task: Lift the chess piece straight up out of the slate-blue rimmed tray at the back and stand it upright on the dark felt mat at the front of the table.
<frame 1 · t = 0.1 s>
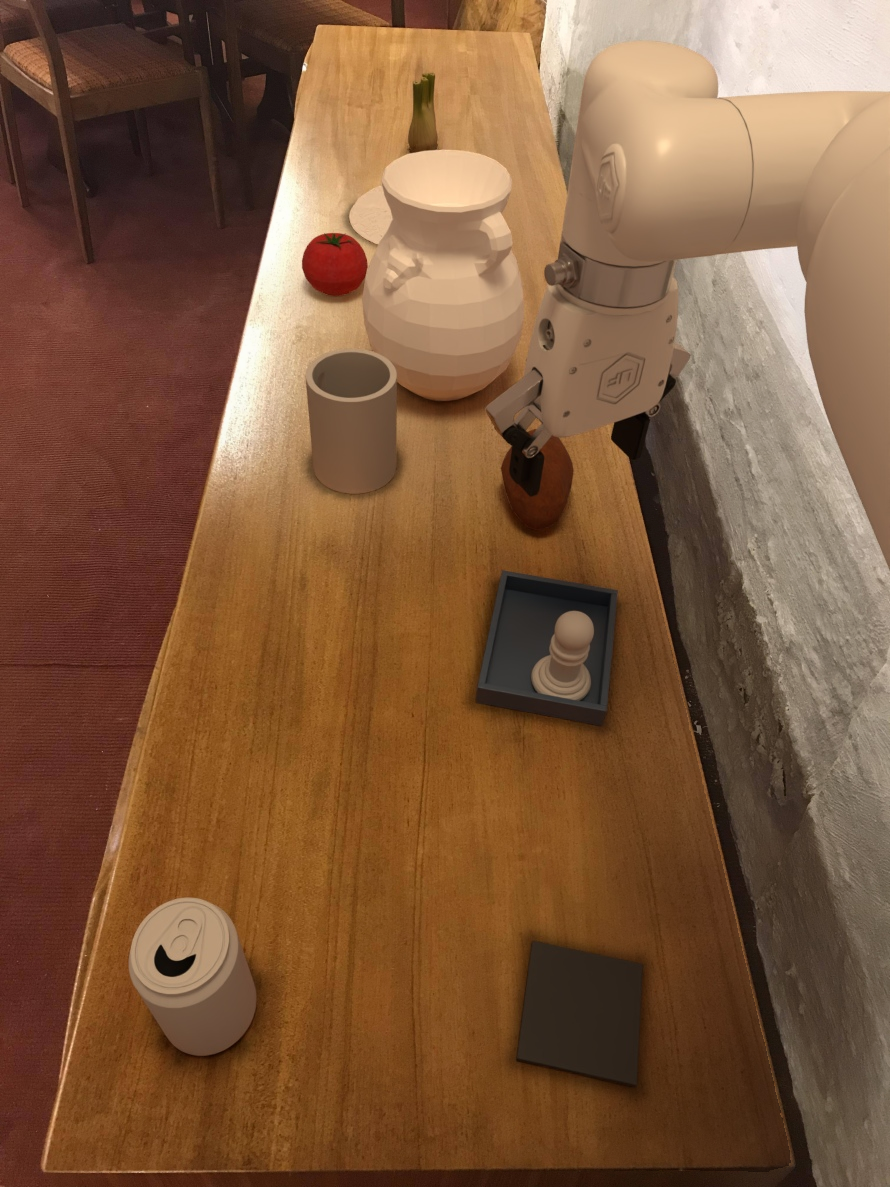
hand: (575, 466, 71), 19 cm above the sideboard, tool pointing down, fingers open, 9 cm apart
mat: (580, 1011, 62), on the sideboard
beverage can: (211, 1009, 62), on the sideboard
fennel bulb: (422, 152, 154), on the sideboard
cup: (355, 467, 100), on the sideboard
tomato: (336, 290, 124), on the sideboard
tray: (547, 651, 83), on the sideboard
chess piece: (560, 683, 81), resting on tray
potato: (532, 502, 97), on the sideboard
plaque: (414, 219, 138), on the sideboard
white vase: (440, 381, 111), on the sideboard
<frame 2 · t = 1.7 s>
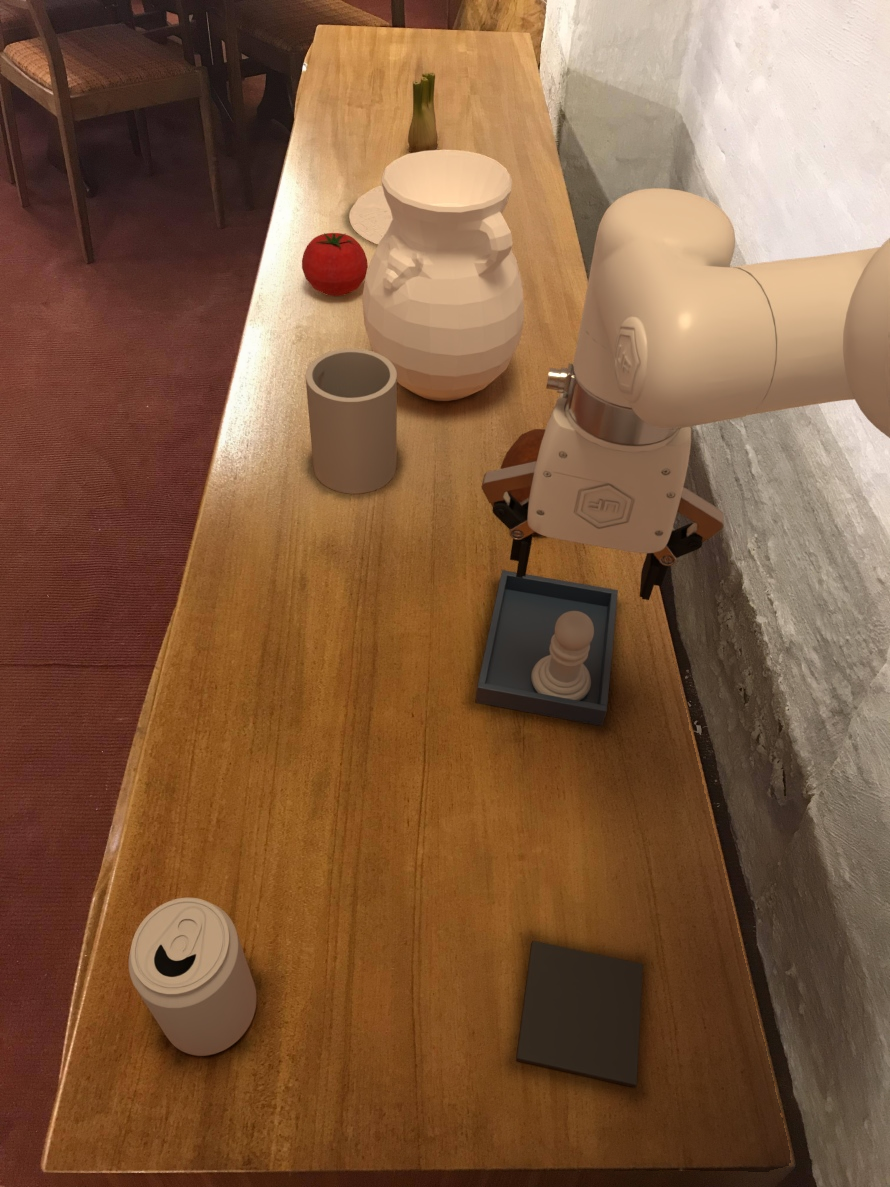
hand: (583, 575, 70), 14 cm above the sideboard, tool pointing down, fingers open, 9 cm apart
nothing on the sideboard moved.
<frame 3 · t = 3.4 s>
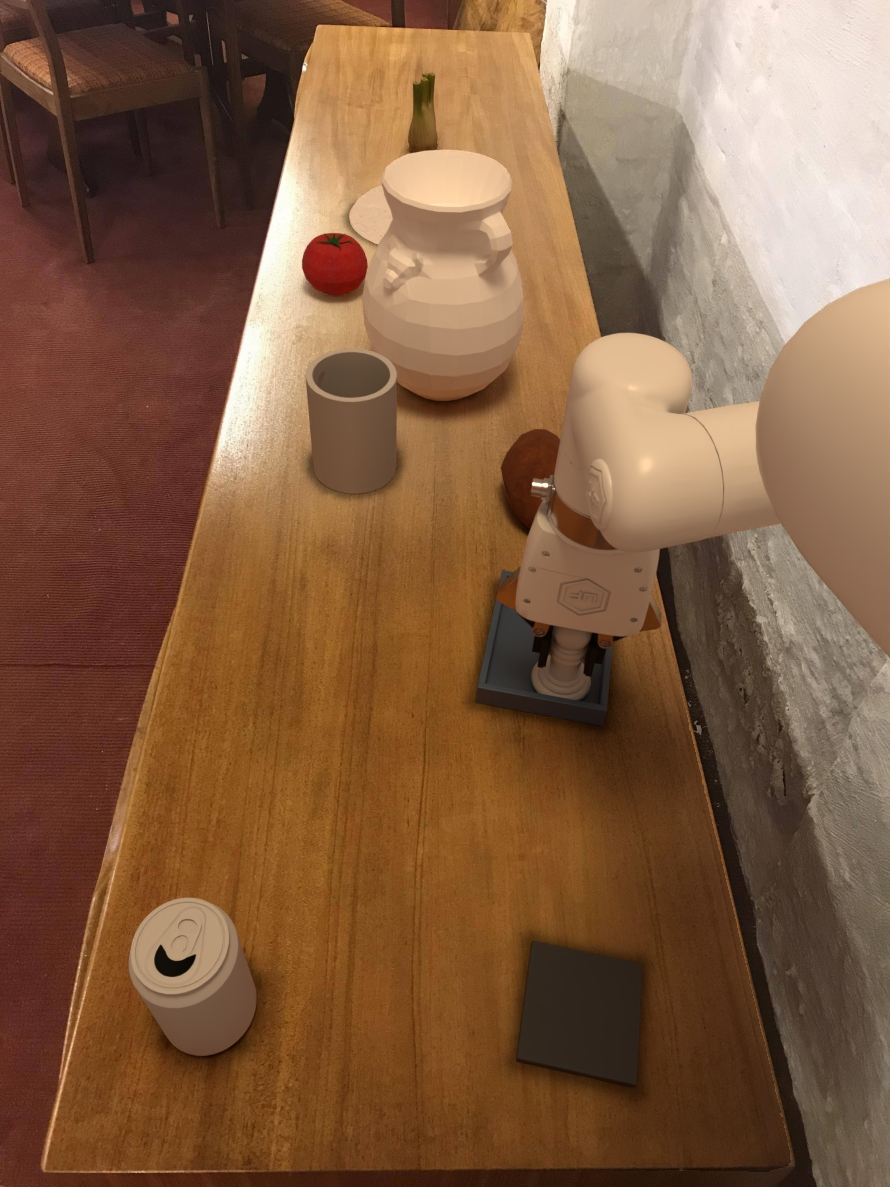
hand: (566, 657, 78), 4 cm above the sideboard, tool pointing down, fingers closed on chess piece, 3 cm apart
chess piece: (560, 683, 81), resting on tray, touching gripper
everything else where it was.
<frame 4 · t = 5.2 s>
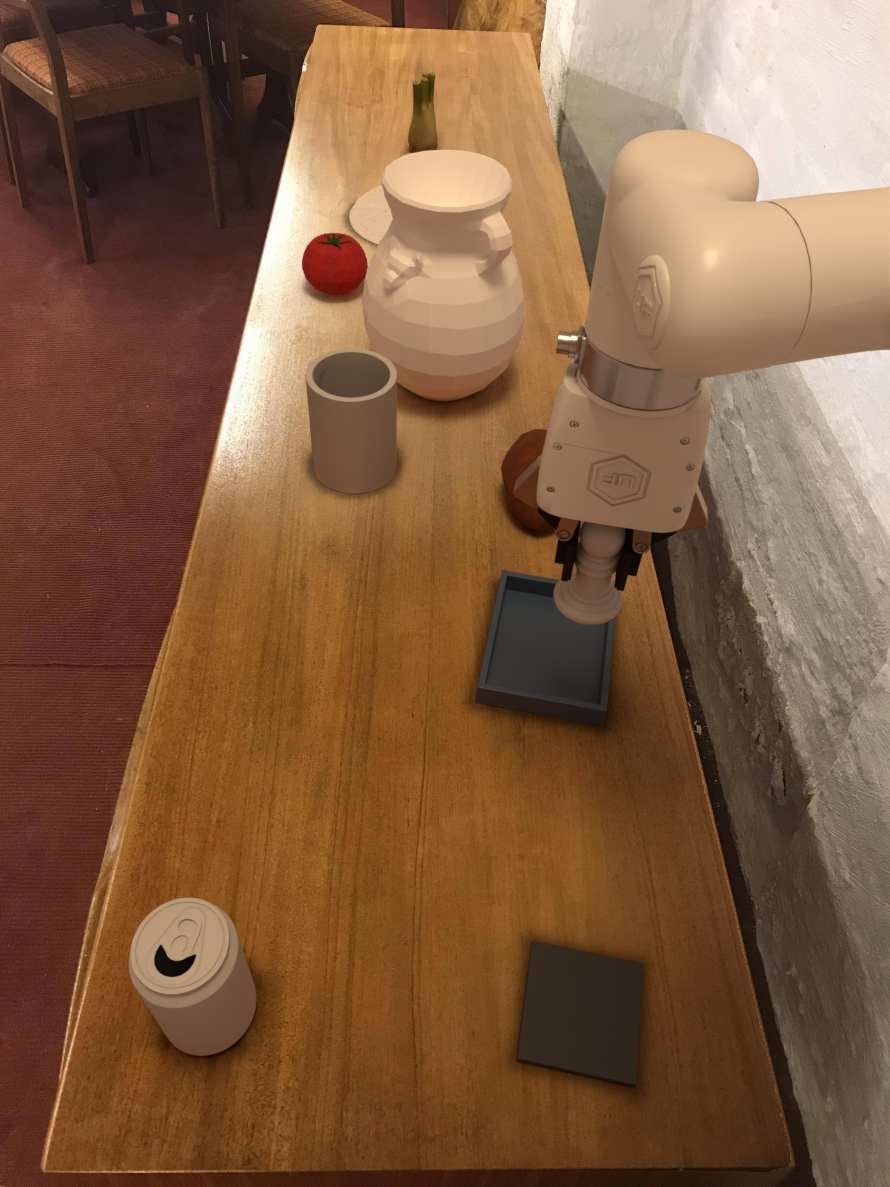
hand: (593, 571, 67), 17 cm above the sideboard, tool pointing down, fingers closed on chess piece, 3 cm apart
chess piece: (586, 602, 70), point 13 cm above the sideboard, touching gripper
everything else where it was.
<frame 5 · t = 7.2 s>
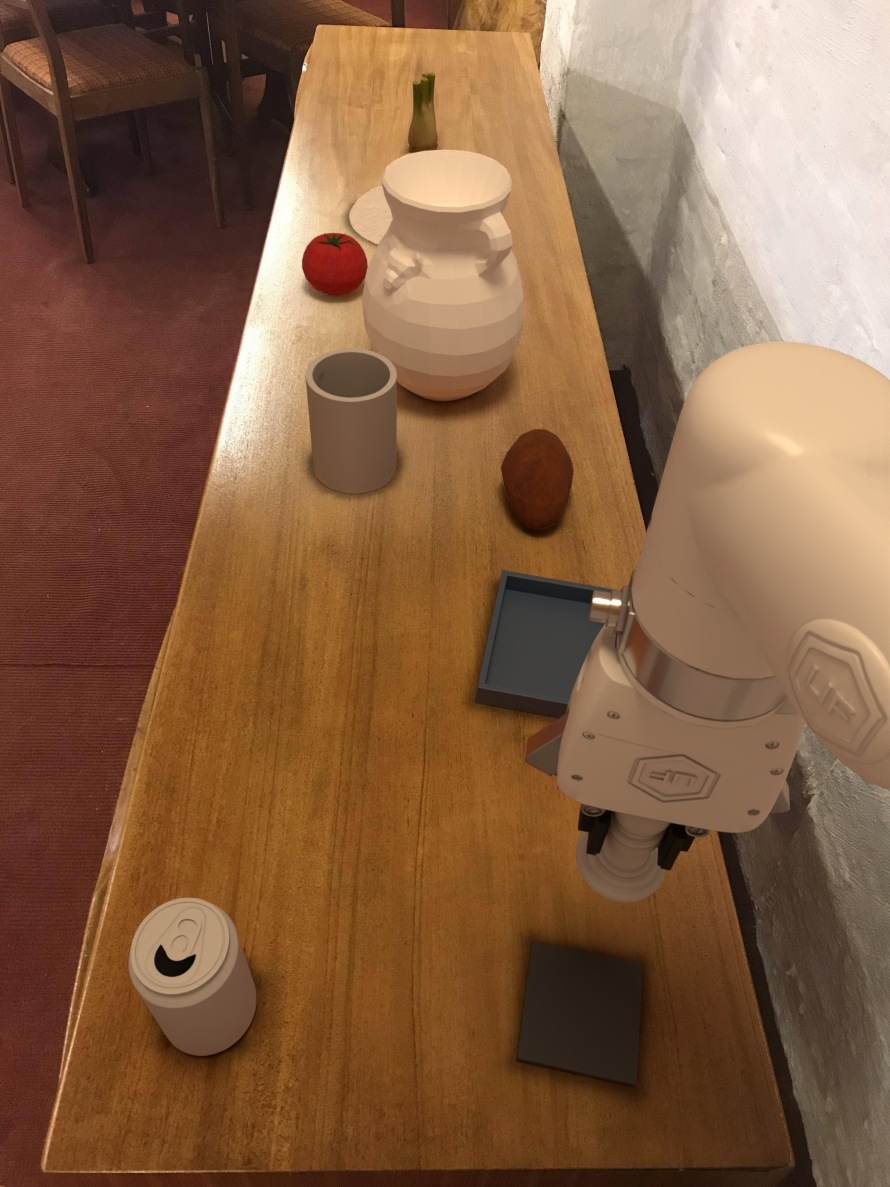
hand: (629, 837, 51), 19 cm above the sideboard, tool pointing down, fingers closed on chess piece, 3 cm apart
chess piece: (618, 862, 54), point 15 cm above the sideboard, touching gripper
everything else where it was.
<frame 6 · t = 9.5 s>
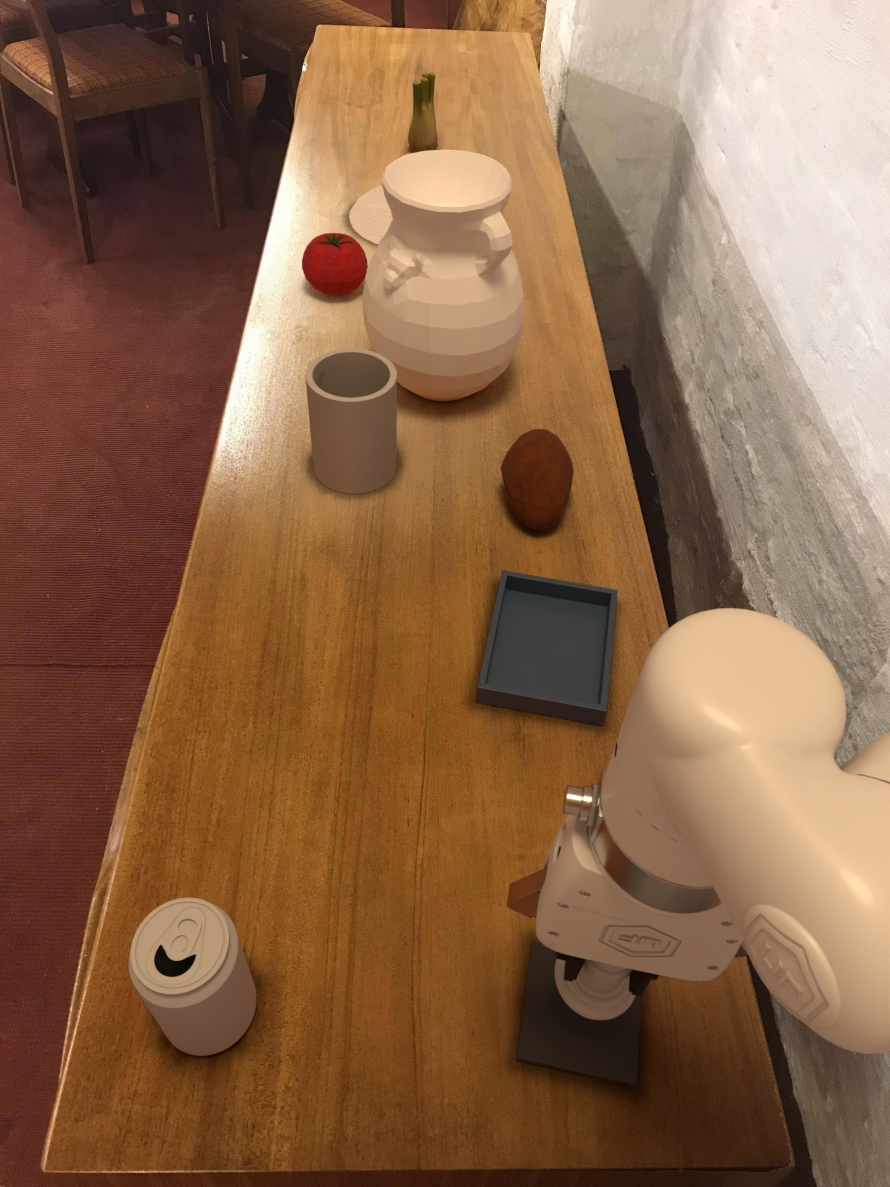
hand: (603, 962, 55), 10 cm above the sideboard, tool pointing down, fingers closed on chess piece, 3 cm apart
chess piece: (594, 979, 58), point 6 cm above the sideboard, touching gripper
everything else where it was.
when the fingers open (4 cm above the sideboard, at t = 11.0 s): chess piece stays where it is, resting on mat.
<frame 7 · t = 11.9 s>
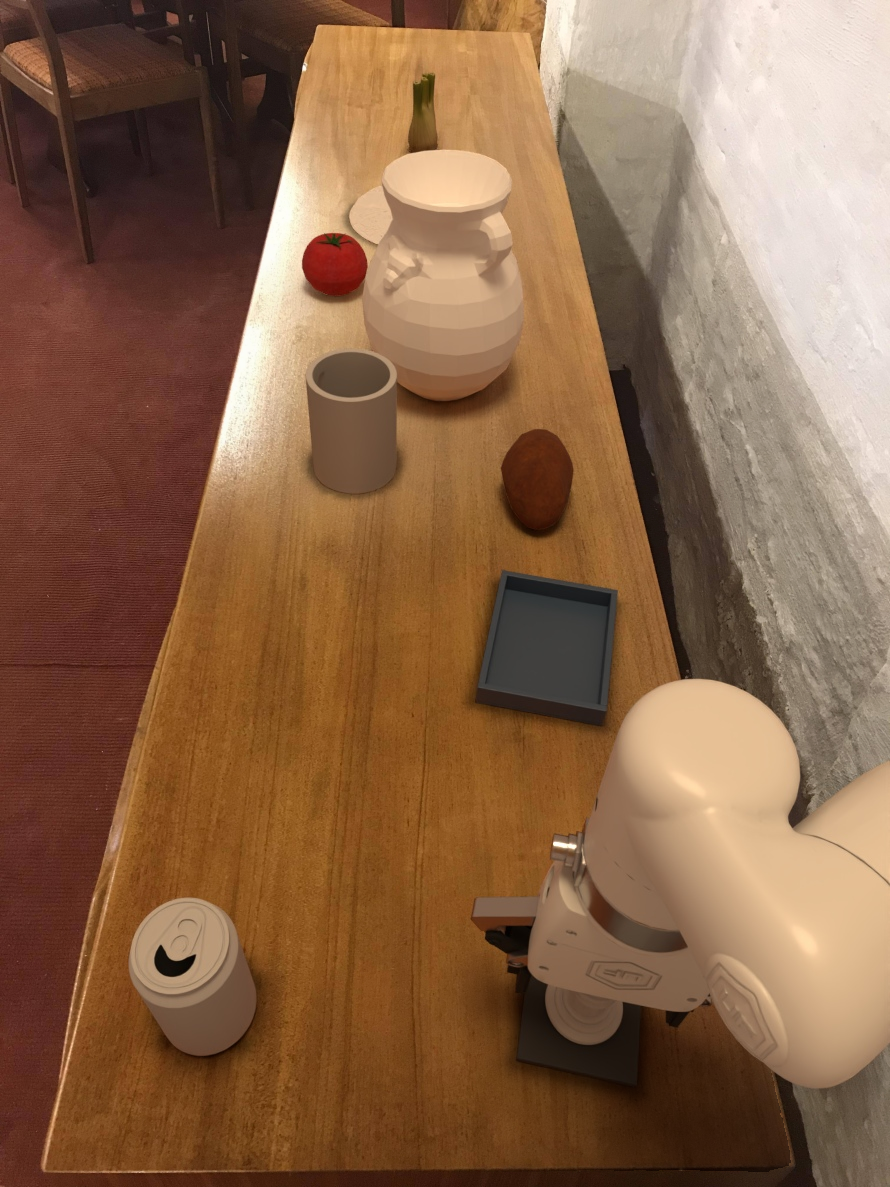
hand: (596, 986, 58), 6 cm above the sideboard, tool pointing down, fingers open, 9 cm apart
chess piece: (582, 1006, 62), resting on mat
everything else where it was.
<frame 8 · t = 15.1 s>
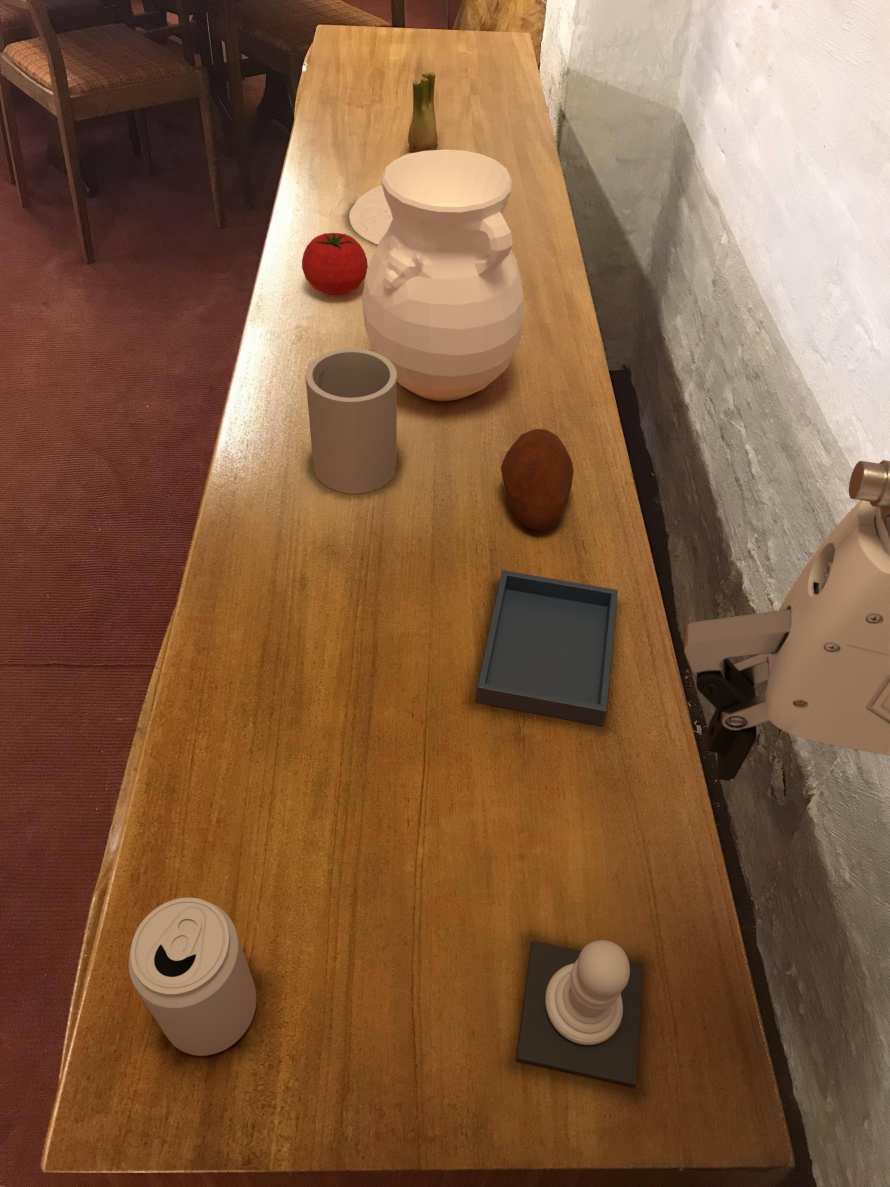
hand: (825, 773, 43), 28 cm above the sideboard, tool pointing down, fingers open, 9 cm apart
nothing on the sideboard moved.
at the end: chess piece inside the target area on the mat (0.3 cm from its centre), point 0.4 cm above the mat's base; chess piece tilted 0°; chess piece touching mat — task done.
